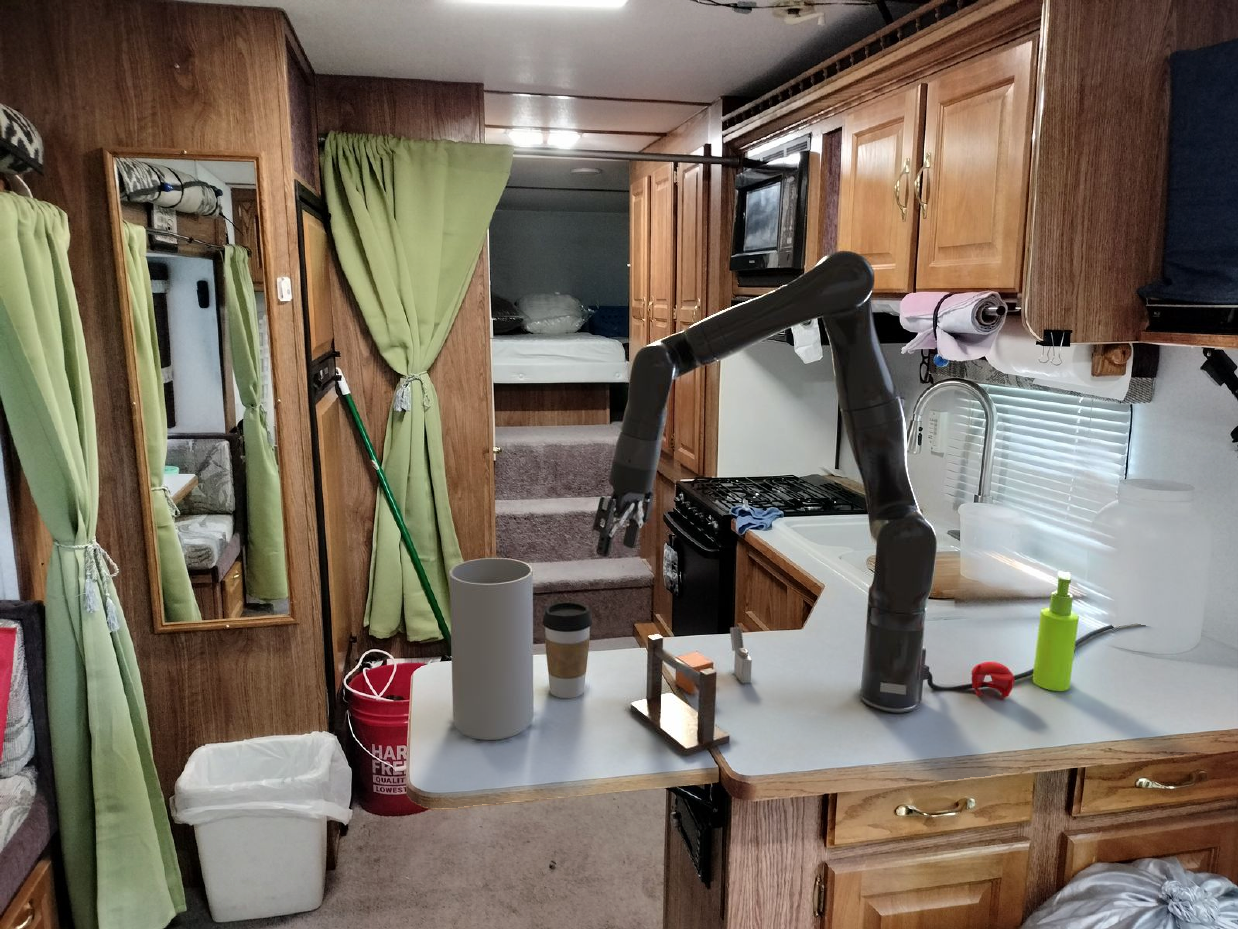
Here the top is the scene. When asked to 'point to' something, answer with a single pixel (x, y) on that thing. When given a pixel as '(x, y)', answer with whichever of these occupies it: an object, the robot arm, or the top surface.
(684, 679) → the clip
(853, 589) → the top surface
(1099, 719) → the top surface
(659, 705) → the handle stand
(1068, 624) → the soap dispenser
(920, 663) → the robot arm
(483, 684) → the cylinder vase
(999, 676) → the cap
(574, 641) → the coffee cup
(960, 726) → the top surface
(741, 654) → the lighter
